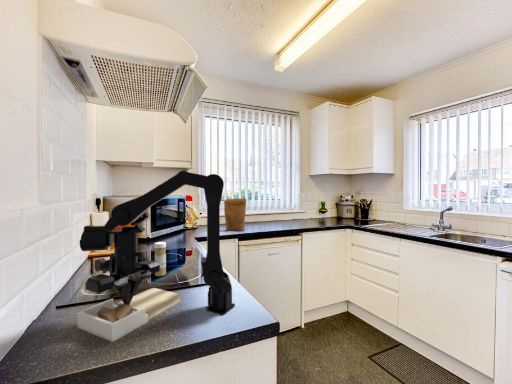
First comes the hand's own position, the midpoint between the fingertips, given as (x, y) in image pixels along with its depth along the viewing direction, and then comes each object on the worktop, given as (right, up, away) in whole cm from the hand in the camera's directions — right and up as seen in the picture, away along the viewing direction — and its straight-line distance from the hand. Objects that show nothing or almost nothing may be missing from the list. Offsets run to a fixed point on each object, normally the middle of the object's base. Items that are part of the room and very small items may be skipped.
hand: (126, 305), depth 70 cm
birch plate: (+3, -3, +7) cm, 8 cm away
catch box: (-2, -4, -4) cm, 5 cm away
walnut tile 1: (-2, 0, -4) cm, 5 cm away
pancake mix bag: (+18, -2, +145) cm, 147 cm away
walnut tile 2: (0, -2, -2) cm, 3 cm away
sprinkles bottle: (-4, -4, +36) cm, 36 cm away
